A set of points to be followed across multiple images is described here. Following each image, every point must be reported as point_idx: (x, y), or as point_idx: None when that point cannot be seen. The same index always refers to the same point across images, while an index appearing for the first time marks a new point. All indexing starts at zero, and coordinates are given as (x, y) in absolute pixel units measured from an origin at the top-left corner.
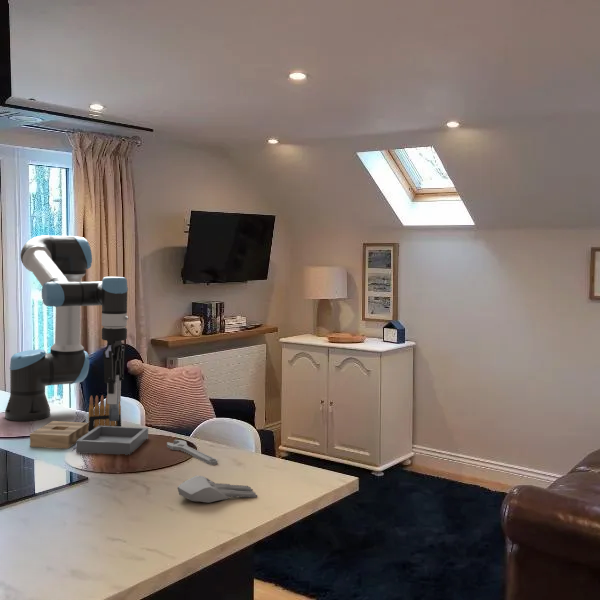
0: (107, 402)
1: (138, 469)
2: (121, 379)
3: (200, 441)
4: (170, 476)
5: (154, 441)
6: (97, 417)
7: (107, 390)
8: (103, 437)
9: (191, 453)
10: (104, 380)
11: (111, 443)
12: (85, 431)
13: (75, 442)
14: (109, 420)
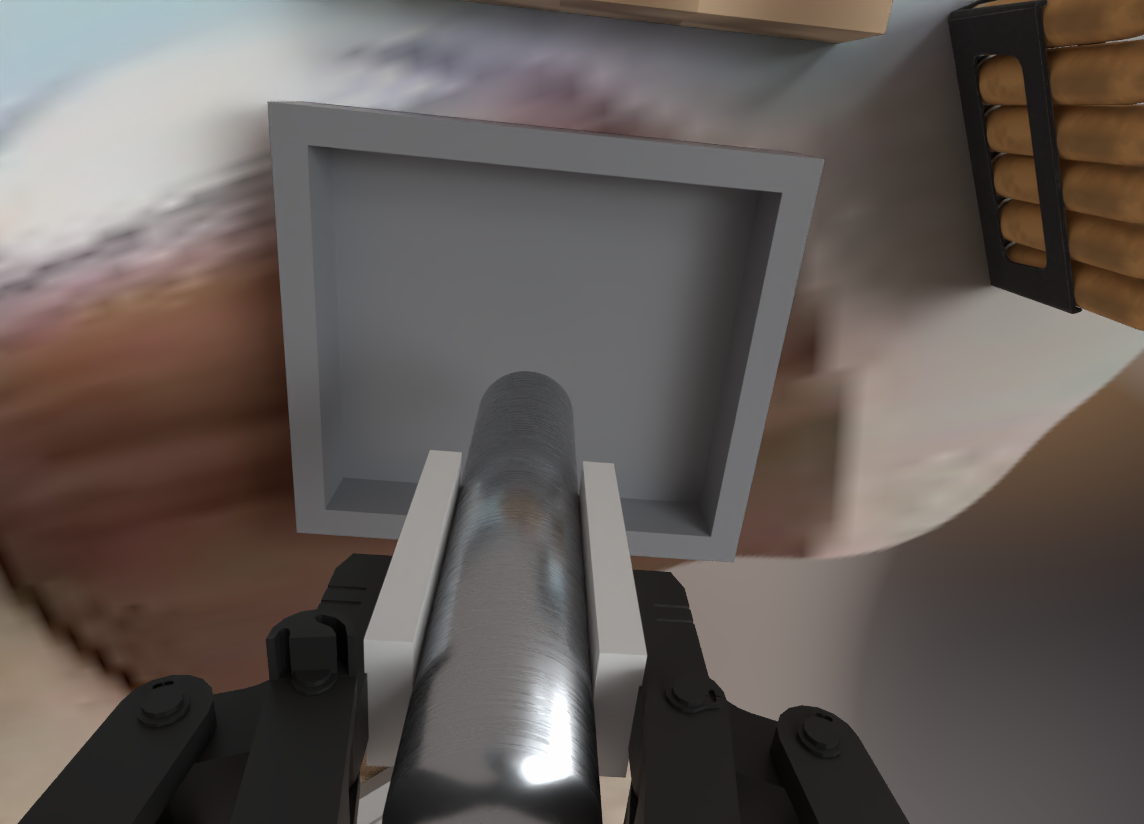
0: (428, 460)
1: (64, 589)
2: (627, 804)
3: None
4: (15, 738)
5: (649, 564)
6: (1037, 93)
7: (394, 553)
8: (677, 228)
9: (379, 781)
10: (149, 692)
11: (291, 405)
12: (788, 32)
13: (550, 9)
14: (491, 384)
